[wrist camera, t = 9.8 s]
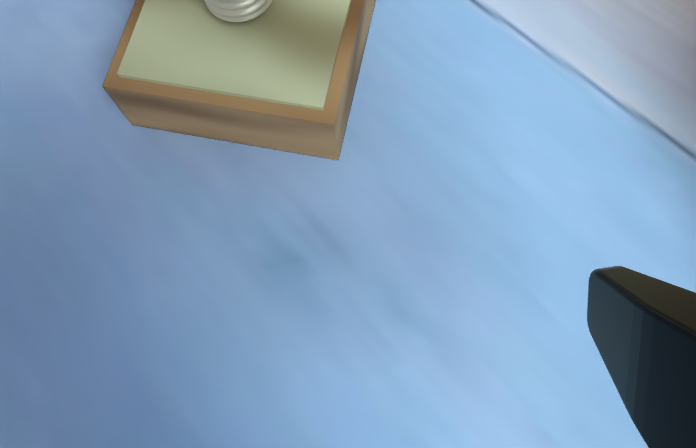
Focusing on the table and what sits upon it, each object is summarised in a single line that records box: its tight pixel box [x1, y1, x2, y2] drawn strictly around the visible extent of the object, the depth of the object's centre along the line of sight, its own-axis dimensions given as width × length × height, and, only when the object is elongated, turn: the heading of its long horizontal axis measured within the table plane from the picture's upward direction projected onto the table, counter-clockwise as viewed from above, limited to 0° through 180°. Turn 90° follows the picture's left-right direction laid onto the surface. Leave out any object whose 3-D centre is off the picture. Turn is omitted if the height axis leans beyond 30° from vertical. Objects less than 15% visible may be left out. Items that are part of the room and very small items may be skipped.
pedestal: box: [102, 0, 376, 160], centre depth 25 cm, size 9×9×3 cm
